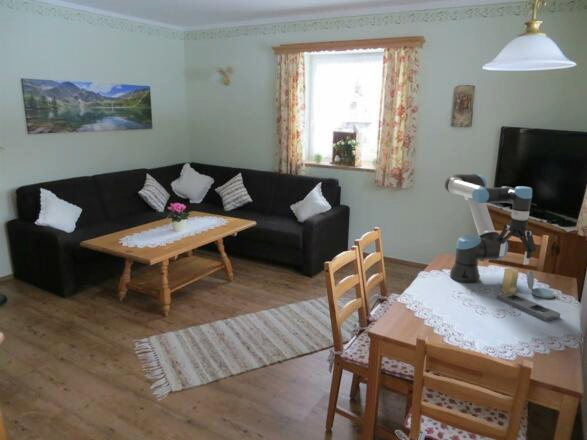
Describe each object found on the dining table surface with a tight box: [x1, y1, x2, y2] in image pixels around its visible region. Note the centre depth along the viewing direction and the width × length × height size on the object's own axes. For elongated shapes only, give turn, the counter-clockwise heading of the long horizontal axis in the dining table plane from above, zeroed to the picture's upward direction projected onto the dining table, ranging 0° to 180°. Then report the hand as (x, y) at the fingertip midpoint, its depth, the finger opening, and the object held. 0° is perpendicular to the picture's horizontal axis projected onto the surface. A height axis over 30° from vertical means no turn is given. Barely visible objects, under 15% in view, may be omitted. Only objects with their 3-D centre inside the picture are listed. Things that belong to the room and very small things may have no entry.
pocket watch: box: [526, 270, 560, 300], centre depth 213 cm, size 10×11×15 cm
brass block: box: [501, 267, 519, 294], centre depth 215 cm, size 4×4×12 cm
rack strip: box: [495, 292, 561, 322], centre depth 199 cm, size 26×9×2 cm, turn 26°
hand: (513, 259), depth 212 cm, fingers open, 13 cm apart
